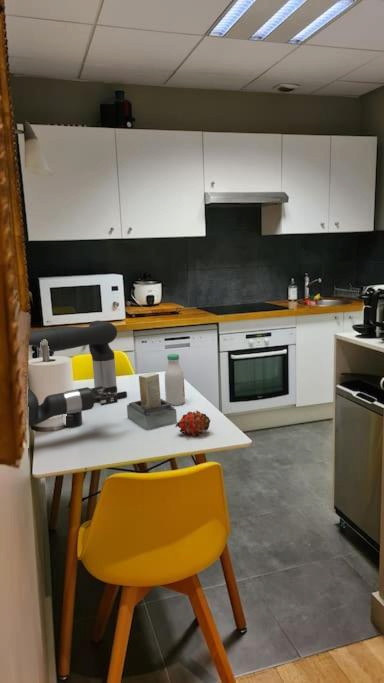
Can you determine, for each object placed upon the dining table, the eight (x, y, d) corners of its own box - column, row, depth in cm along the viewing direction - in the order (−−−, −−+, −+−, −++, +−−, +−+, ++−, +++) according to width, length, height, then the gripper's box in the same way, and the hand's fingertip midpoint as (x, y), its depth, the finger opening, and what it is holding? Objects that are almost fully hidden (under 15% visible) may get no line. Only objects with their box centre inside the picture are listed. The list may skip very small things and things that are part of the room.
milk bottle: (182, 406, 197) (180, 357, 194) (163, 405, 199) (161, 357, 195) (186, 400, 205) (184, 352, 201) (168, 399, 206) (166, 352, 203)
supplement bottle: (66, 429, 178) (63, 396, 175) (61, 423, 184) (58, 392, 181) (84, 425, 181) (82, 393, 178) (79, 420, 187) (77, 389, 184)
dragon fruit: (214, 437, 168) (179, 445, 168) (208, 417, 174) (174, 424, 173) (212, 423, 162) (176, 431, 161) (207, 402, 168) (172, 410, 167)
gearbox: (127, 417, 187) (126, 401, 186) (156, 411, 193) (155, 395, 192) (146, 430, 173) (145, 412, 172) (176, 422, 179) (175, 405, 178)
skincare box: (154, 403, 186) (152, 371, 183) (161, 406, 182) (159, 373, 180) (140, 407, 181) (138, 375, 179) (147, 410, 178) (145, 377, 176)
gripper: (83, 394, 160) (129, 385, 168) (69, 385, 172) (112, 377, 180) (85, 417, 161) (130, 406, 170) (71, 406, 173) (114, 397, 182)
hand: (121, 391), depth 175 cm, fingers open, 8 cm apart
